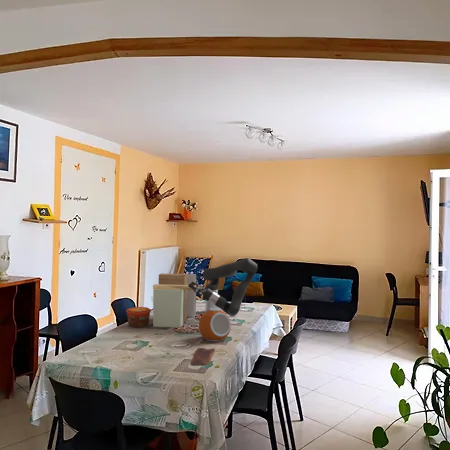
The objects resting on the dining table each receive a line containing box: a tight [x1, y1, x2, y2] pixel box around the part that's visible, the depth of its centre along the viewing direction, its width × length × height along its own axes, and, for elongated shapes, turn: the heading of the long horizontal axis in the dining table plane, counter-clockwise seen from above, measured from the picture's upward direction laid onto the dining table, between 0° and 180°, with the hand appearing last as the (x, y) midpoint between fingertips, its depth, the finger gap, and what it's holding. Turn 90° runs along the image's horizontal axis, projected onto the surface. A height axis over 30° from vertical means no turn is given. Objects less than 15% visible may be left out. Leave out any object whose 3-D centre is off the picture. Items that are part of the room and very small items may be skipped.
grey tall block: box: [186, 273, 197, 318], centre depth 307 cm, size 14×6×30 cm, turn 84°
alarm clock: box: [198, 307, 232, 342], centre depth 251 cm, size 19×18×17 cm
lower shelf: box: [152, 289, 184, 328], centre depth 280 cm, size 9×18×24 cm, turn 84°
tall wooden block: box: [158, 272, 189, 324], centre depth 292 cm, size 9×20×32 cm, turn 84°
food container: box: [125, 306, 152, 329], centre depth 279 cm, size 16×16×11 cm
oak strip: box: [152, 283, 196, 290], centre depth 279 cm, size 4×28×2 cm, turn 84°
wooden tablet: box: [190, 347, 216, 367], centre depth 217 cm, size 26×2×10 cm
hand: (190, 283), depth 278 cm, fingers open, 8 cm apart
